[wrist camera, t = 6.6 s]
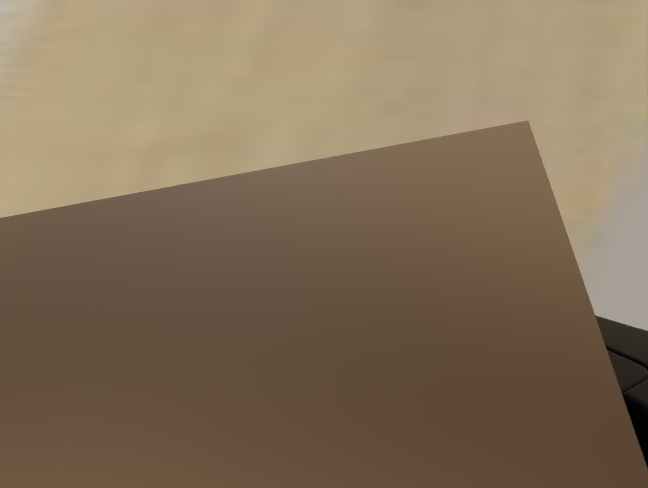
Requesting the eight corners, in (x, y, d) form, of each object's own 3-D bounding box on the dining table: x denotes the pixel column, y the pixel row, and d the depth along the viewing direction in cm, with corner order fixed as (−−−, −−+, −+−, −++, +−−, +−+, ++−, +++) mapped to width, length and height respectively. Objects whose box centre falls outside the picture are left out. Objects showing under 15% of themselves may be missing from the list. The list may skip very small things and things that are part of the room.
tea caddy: (422, 403, 15) (712, 657, 3) (274, 426, 15) (-81, 755, 3) (399, 293, 16) (528, 121, 4) (262, 316, 16) (-30, 222, 4)
